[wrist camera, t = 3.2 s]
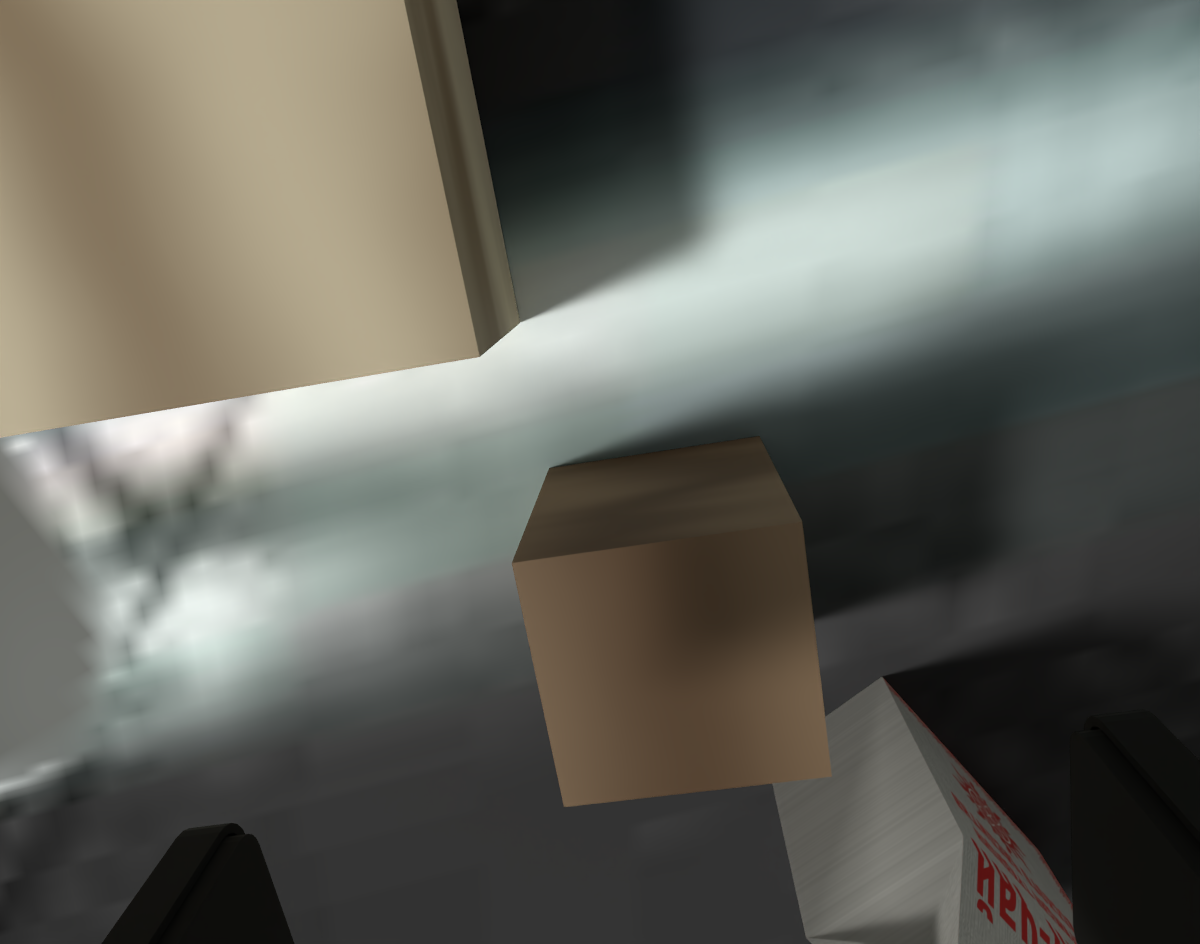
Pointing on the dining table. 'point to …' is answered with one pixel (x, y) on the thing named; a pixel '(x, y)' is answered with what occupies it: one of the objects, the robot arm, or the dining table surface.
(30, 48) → the block
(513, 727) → the dining table surface
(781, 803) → the white paper bag
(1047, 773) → the dining table surface
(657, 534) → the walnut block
